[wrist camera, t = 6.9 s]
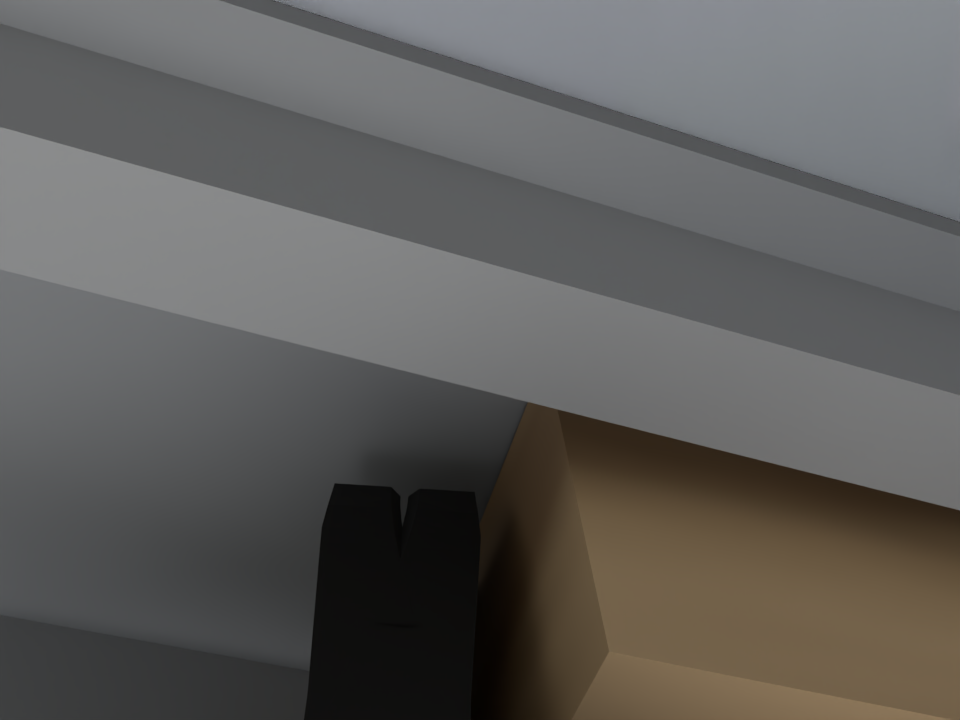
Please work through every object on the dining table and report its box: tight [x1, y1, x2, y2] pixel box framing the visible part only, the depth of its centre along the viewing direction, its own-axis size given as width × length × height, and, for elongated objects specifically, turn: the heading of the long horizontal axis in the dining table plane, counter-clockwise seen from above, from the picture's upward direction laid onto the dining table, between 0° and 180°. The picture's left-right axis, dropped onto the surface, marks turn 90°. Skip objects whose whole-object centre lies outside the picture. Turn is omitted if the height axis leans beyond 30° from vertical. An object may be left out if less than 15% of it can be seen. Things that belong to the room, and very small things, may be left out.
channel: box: [0, 0, 960, 720], centre depth 8 cm, size 10×24×4 cm, turn 73°
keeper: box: [471, 402, 960, 720], centre depth 8 cm, size 5×5×4 cm
